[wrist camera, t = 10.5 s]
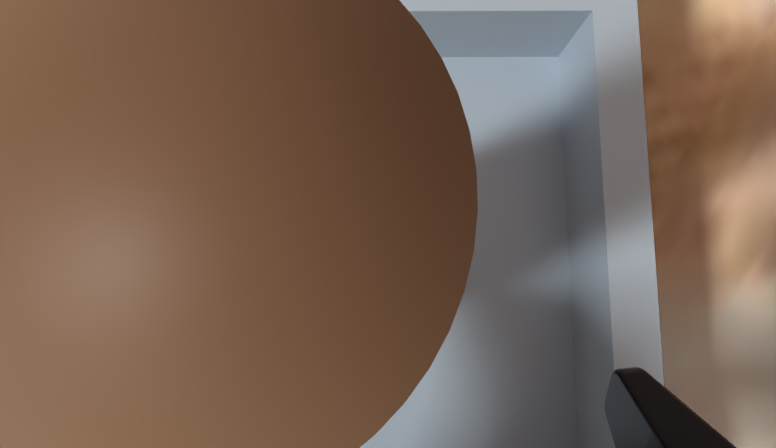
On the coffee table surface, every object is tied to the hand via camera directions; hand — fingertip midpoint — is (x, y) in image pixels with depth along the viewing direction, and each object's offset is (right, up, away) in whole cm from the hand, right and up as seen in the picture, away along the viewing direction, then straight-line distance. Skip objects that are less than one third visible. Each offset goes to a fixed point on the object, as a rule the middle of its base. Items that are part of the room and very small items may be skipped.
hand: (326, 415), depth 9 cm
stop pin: (0, +1, +8) cm, 9 cm away
